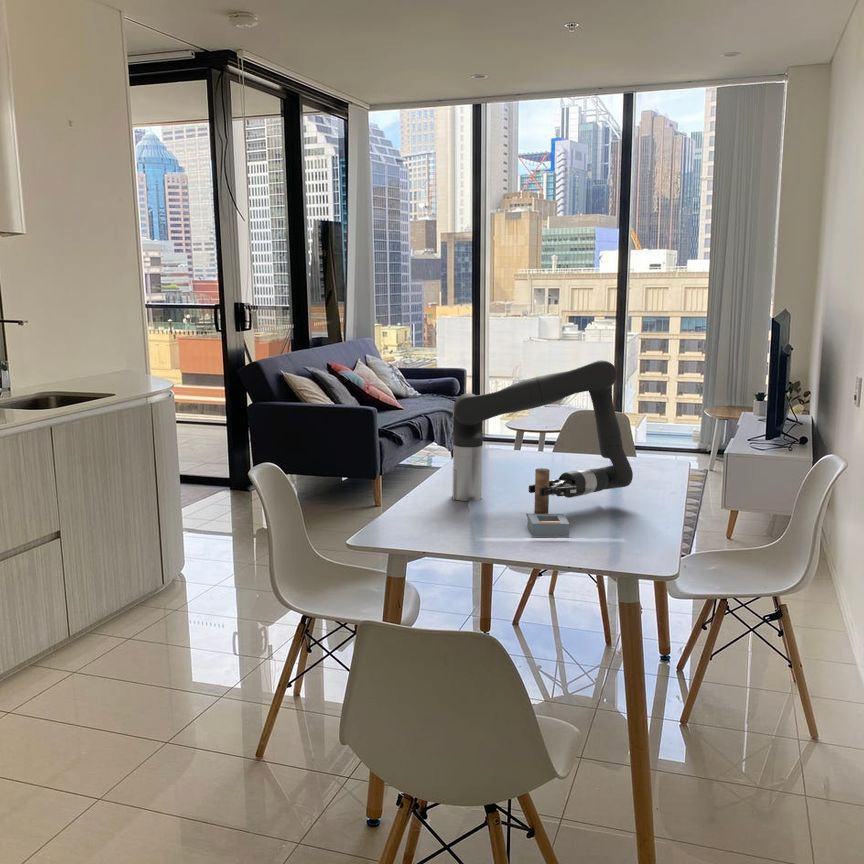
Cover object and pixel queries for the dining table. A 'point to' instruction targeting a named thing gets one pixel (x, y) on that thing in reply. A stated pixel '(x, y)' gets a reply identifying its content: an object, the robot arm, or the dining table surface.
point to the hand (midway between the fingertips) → (535, 490)
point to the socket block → (548, 524)
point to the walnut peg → (540, 482)
